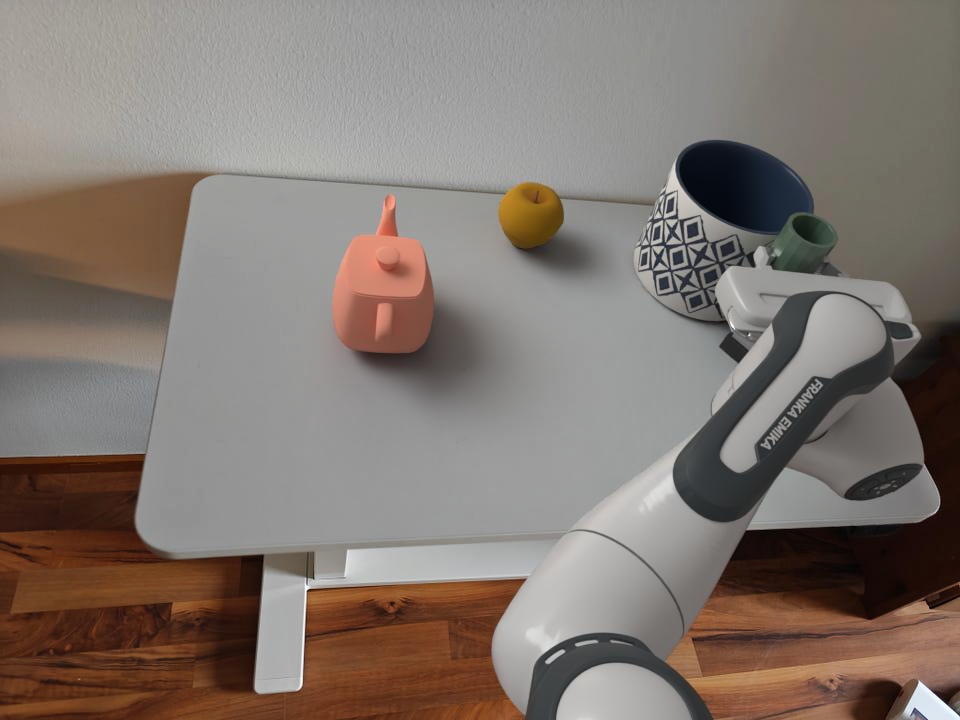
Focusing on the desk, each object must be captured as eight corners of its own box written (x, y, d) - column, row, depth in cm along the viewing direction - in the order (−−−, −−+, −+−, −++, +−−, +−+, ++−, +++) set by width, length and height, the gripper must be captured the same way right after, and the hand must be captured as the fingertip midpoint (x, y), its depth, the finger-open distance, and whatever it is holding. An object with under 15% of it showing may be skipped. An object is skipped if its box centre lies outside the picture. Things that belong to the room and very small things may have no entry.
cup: (795, 313, 85) (842, 252, 78) (749, 304, 85) (792, 241, 77) (789, 280, 89) (833, 218, 81) (745, 270, 89) (784, 207, 81)
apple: (549, 271, 99) (565, 222, 92) (485, 254, 99) (497, 203, 92) (558, 229, 105) (575, 180, 98) (499, 212, 105) (511, 162, 98)
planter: (622, 225, 108) (662, 131, 95) (736, 237, 111) (790, 147, 98) (643, 319, 97) (692, 226, 84) (769, 329, 100) (835, 241, 87)
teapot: (431, 388, 84) (444, 321, 75) (327, 383, 82) (326, 314, 73) (428, 264, 96) (439, 193, 87) (337, 257, 94) (338, 184, 85)
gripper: (721, 358, 76) (694, 264, 84) (898, 374, 79) (855, 281, 87) (748, 319, 71) (717, 223, 79) (937, 337, 74) (887, 242, 82)
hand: (791, 253), depth 83 cm, fingers closed on cup, 6 cm apart
